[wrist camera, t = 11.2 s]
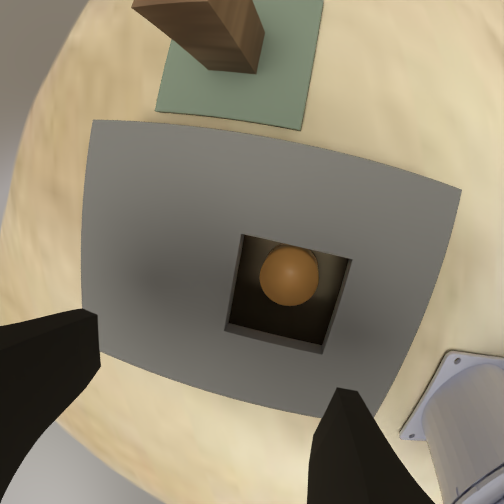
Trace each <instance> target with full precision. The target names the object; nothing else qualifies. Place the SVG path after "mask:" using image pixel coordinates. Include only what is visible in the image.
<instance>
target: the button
mask: <svg viewBox="0 0 504 504" xmlns="http://www.w3.org/2000/svg"><path fill="white" fill-rule="evenodd" d="M318 282H319V274H318V263H317V260H316V258H315V256H314V254H313V253H312V252H311V251H310V250H309V249H306V248H302V247H297V246H293V245H289V244H285V243H284V244H281V245H279V246H277V247H275V248H274V249H273V250H272V251H271V252H270V253H269V254H268V256H267V258H266V260H265V262H264V264H263V266H262V268H261V271H260V284H261V287H262V289H263V291H264V293H265V294H266V295H267V296H268V297H269V298H270V299H271V300H272V301H274V302H276V303H278V304H281V305H285V306H294V305H299V304H302V303H304V302H305V301H307V300H308V299H310V298H311V297H312V295H313V294H314V293H315V291H316V289H317V286H318Z"/></svg>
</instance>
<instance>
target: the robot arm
mask: <svg viewBox="0 0 504 504" xmlns="http://www.w3.org/2000/svg"><path fill="white" fill-rule="evenodd" d="M457 358H458V360H456V361H455V359H457ZM100 367H101V363H100V350H99V333H98V315H97V314H95V313H92V312H90V311H88V310H85V309H76V310H71V311H66V312H61V313H57V314H53V315H49V316H45V317H41V318H37V319H32V320H28V321H24V322H20V323H15V324H10V325H5V326H0V503H1V500H2V498H3V495H4V493H5V491H6V489H7V487H8V485H9V484H10V482H11V480H12V478H13V476H14V474H15V473H16V471H17V469H18V468H19V466H20V464H21V463H22V461H23V460H24V458H25V456H26V455H27V454H28V452H29V451H30V449H31V448H32V447H33V445H34V444H35V442H36V441H37V440H38V438H39V437H40V436H41V435H42V434H43V432H44V431H45V430H46V429H47V428H48V427H49V426H50V425H51V424H52V423H53V422H54V421H55V420H56V419H57V418H58V417H59V416H60V414H61V413H62V412H63V411H64V410H65V409H66V408H67V407H68V406H69V405H70V404H71V403H72V402H73V401H74V400H75V399H76V398H77V397H78V396H79V395H80V394H81V393H82V391H83V390H84V389H85V388H86V387H87V385H88V384H89V383H90V381H91V380H92V379H93V377H94V376H95V374H96V373H97V371H98V370H99V368H100ZM399 436H400V439H402V440H422V441H427V443H428V447H429V450H430V454H431V457H432V461H433V464H434V468H435V472H436V475H437V479H438V483H439V487H440V491H441V495H442V500H443V504H504V358H502V357H494V356H486V355H479V354H471V353H464V352H458V351H450V352H448V353H447V354H446V355H445V356H444V358H443V360H442V362H441V364H440V366H439V368H438V369H437V371H436V373H435V375H434V377H433V379H432V381H431V382H430V384H429V386H428V388H427V390H426V391H425V393H424V395H423V396H422V398H421V400H420V401H419V403H418V405H417V406H416V408H415V410H414V411H413V413H412V414H411V416H410V418H409V419H408V421H407V422H406V424H405V425H404V427H403V428H402V430H401V431H400V433H399ZM307 504H435V503H434V502H433V501H432V500H431V498H430V497H429V496H428V495H427V494H426V493H425V492H424V491H423V489H422V488H421V487H420V486H419V485H418V483H417V482H416V481H415V480H414V478H413V477H412V476H411V474H410V473H409V472H408V470H407V469H406V468H405V466H404V465H403V463H402V462H401V461H400V459H399V458H398V456H397V455H396V453H395V452H394V450H393V449H392V447H391V446H390V444H389V443H388V441H387V439H386V438H385V436H384V435H383V433H382V431H381V430H380V428H379V426H378V425H377V423H376V421H375V420H374V418H373V416H372V414H371V413H370V411H369V409H368V408H367V406H366V404H365V402H364V401H363V399H362V397H361V396H360V394H359V392H358V391H355V390H350V389H344V388H339V387H337V388H336V390H335V392H334V394H333V397H332V399H331V401H330V403H329V405H328V407H327V409H326V411H325V413H324V415H323V417H322V419H321V421H320V423H319V425H318V427H317V429H316V431H315V433H314V435H313V441H312V447H311V453H310V460H309V471H308V494H307Z"/></svg>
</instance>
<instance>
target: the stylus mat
mask: <svg viewBox="0 0 504 504" xmlns="http://www.w3.org/2000/svg"><path fill="white" fill-rule="evenodd" d="M252 1H253V3H254V5H255V8H256V10H257V13H258V15H259V18H260V21H261V23H262V26H263V28H264V31H265V36H264V40H263V45H262V49H261V54H260V59H259V63H258V68H257V73H256V75H255V74H246V73H237V72H226V71H212V70H208V69H206V68H205V67H204V66H203V65H202V64H201V63H200V62H198V61H197V60H196V59H195V58H194V57H193V56H191V55H190V54H189V53H188V52H187V51H186V50H184V49H183V48H182V47H181V46H180V45H178V44H177V43H176V42H175V41H174V40H171V44H170V47H169V51H168V55H167V59H166V63H165V67H164V71H163V76H162V80H161V84H160V89H159V93H158V98H157V103H156V108H155V111H156V112H164V113H177V114H189V115H199V116H208V117H216V118H224V119H232V120H239V121H246V122H252V123H259V124H265V125H271V126H276V127H282V128H287V129H292V130H298V131H301V126H302V120H303V115H304V110H305V105H306V99H307V94H308V88H309V83H310V77H311V72H312V66H313V61H314V55H315V49H316V44H317V38H318V32H319V26H320V20H321V14H322V8H323V0H252Z"/></svg>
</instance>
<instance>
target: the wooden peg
mask: <svg viewBox="0 0 504 504" xmlns="http://www.w3.org/2000/svg"><path fill="white" fill-rule="evenodd" d="M131 8H132V9H134V10H135V11H136V12H138V13H139V14H140V15H142V16H143V17H144V18H146V19H147V20H148V21H150V22H151V23H152V24H154V25H155V26H156V27H157V28H159V29H160V30H161V31H162V32H164V33H165V34H166V35H167V36H169V37H170V38H171V39H172V40H174V41H175V42H176V43H177V44H178V45H180V46H181V47H182V48H183V49H184V50H186V51H187V52H188V53H189V54H190V55H191V56H193V57H194V58H195V59H196V60H197V61H198V62H200V63H201V64H202V65H203V66H204V67H205V68H206V69H208V70H212V71H226V72H237V73H246V74H255V75H256V73H257V68H258V63H259V59H260V54H261V49H262V45H263V40H264V36H265V31H264V28H263V26H262V23H261V21H260V18H259V15H258V13H257V10H256V8H255V5H254V3H253V1H252V0H134V1H133V4H132V7H131Z"/></svg>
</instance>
